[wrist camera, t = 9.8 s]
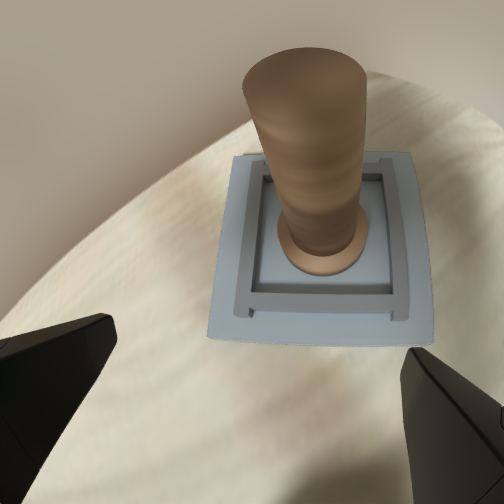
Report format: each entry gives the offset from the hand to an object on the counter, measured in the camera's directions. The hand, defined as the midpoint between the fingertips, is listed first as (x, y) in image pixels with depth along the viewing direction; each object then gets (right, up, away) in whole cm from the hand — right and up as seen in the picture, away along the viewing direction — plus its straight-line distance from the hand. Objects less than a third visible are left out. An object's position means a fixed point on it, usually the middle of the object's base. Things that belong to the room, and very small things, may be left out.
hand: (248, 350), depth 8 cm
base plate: (+5, +4, +14) cm, 15 cm away
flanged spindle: (+5, +4, +13) cm, 14 cm away
